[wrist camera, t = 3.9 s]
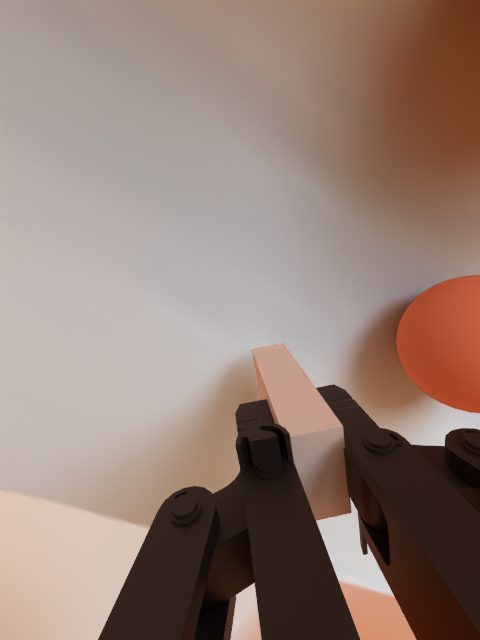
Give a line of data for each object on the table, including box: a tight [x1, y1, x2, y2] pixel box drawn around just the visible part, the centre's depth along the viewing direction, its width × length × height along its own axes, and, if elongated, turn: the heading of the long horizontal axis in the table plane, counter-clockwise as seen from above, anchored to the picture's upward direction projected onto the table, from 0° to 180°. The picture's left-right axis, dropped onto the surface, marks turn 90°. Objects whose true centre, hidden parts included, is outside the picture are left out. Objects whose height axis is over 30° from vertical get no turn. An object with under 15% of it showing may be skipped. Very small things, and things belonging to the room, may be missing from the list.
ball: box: [396, 275, 480, 413], centre depth 13 cm, size 6×6×6 cm
